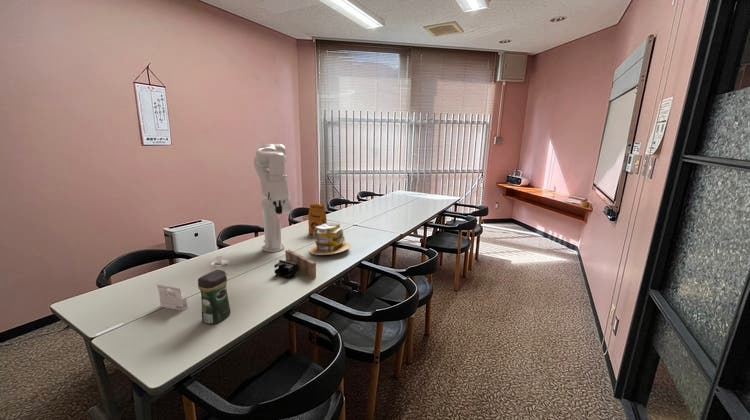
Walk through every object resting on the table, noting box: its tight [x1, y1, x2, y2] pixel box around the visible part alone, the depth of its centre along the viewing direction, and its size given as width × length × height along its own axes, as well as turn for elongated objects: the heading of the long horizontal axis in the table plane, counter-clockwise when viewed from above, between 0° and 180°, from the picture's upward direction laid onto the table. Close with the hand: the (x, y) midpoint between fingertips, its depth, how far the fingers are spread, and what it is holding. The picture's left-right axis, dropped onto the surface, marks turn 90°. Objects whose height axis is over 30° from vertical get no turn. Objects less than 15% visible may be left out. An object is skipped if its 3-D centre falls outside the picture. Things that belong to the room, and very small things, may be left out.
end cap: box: [273, 259, 299, 280], centre depth 155 cm, size 10×7×7 cm
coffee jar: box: [197, 269, 231, 325], centre depth 117 cm, size 10×8×19 cm
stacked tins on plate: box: [309, 222, 352, 256], centre depth 188 cm, size 25×25×17 cm
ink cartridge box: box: [156, 284, 188, 311], centre depth 123 cm, size 2×11×10 cm, turn 77°
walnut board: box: [285, 249, 317, 280], centre depth 160 cm, size 24×2×8 cm, turn 48°
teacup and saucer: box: [210, 255, 229, 267], centre depth 166 cm, size 9×8×4 cm
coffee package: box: [307, 202, 328, 235], centre depth 216 cm, size 10×12×22 cm
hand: (278, 213), depth 159 cm, fingers closed
